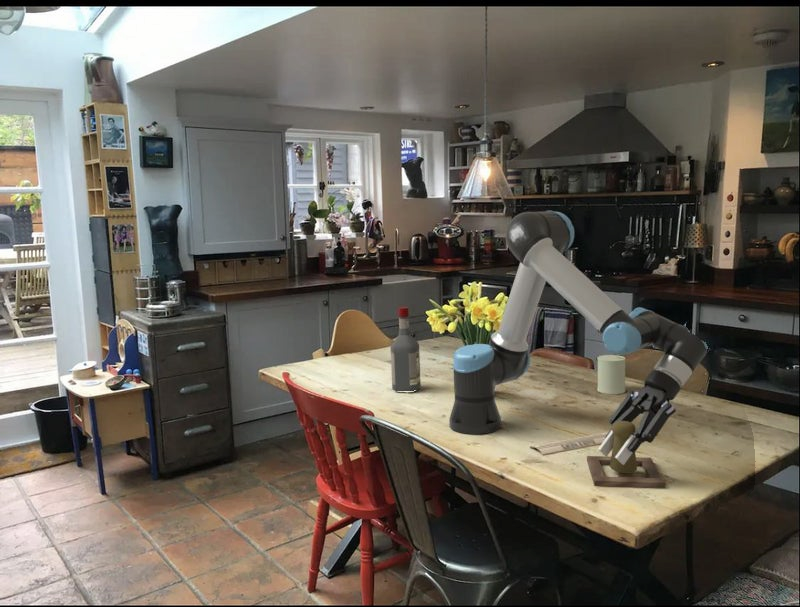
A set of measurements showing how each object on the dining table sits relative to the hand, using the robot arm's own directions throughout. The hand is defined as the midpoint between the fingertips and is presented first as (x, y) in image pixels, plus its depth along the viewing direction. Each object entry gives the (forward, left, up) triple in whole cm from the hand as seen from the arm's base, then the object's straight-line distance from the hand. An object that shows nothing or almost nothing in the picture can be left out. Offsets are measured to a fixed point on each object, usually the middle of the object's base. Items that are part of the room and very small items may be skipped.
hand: (610, 456), depth 147 cm
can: (+11, +74, -5) cm, 75 cm away
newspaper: (-6, +20, -6) cm, 22 cm away
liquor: (-60, +73, -5) cm, 95 cm away
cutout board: (+3, +2, -5) cm, 6 cm away
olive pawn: (+3, +2, -3) cm, 5 cm away
